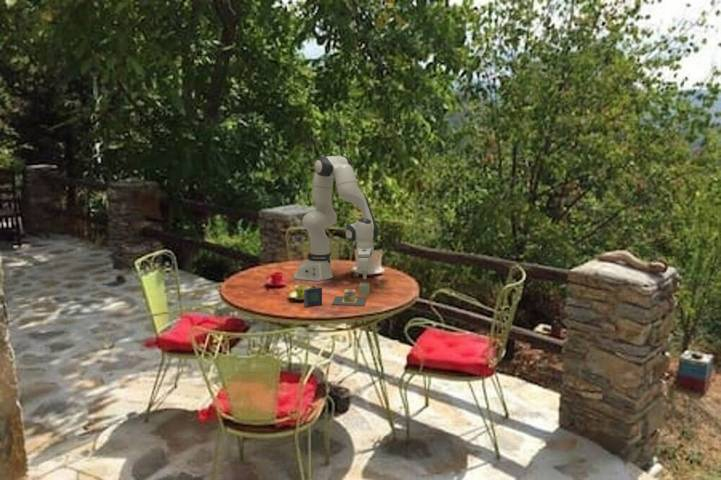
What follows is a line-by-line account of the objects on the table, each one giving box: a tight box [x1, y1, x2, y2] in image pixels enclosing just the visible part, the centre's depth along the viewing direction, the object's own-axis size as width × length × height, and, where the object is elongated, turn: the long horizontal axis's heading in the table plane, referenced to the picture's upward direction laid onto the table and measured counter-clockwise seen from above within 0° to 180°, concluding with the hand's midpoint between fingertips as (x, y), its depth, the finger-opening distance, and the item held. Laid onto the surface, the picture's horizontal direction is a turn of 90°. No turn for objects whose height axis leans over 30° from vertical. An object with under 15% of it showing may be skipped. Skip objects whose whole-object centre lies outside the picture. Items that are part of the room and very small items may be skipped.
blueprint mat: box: [331, 295, 368, 307], centre depth 291 cm, size 16×13×1 cm
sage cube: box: [358, 282, 371, 296], centre depth 305 cm, size 5×5×5 cm
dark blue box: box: [303, 283, 323, 308], centre depth 284 cm, size 9×3×11 cm, turn 117°
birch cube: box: [343, 288, 356, 302], centre depth 290 cm, size 5×5×5 cm
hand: (365, 276), depth 303 cm, fingers open, 8 cm apart
